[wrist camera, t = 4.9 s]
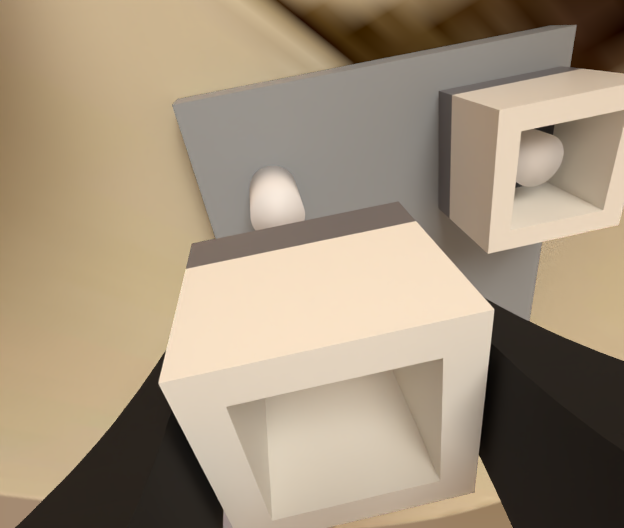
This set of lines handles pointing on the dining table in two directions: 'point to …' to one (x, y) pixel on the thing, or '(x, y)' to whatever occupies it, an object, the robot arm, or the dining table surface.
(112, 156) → the dining table surface
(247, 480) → the sleeve
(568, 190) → the seated sleeve
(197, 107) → the pin board
